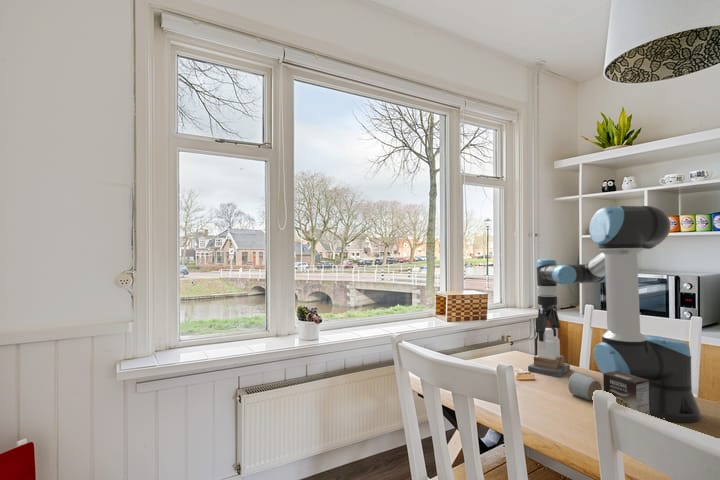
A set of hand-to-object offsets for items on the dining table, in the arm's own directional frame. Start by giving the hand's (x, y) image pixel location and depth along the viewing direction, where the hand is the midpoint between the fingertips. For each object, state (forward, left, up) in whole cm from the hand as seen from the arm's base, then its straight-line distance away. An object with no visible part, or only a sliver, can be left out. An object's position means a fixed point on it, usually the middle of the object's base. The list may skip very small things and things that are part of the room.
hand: (548, 345), depth 170 cm
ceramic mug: (-22, -21, -10) cm, 32 cm away
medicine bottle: (0, 0, -4) cm, 4 cm away
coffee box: (-45, -37, -10) cm, 59 cm away
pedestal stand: (0, 0, -10) cm, 10 cm away
